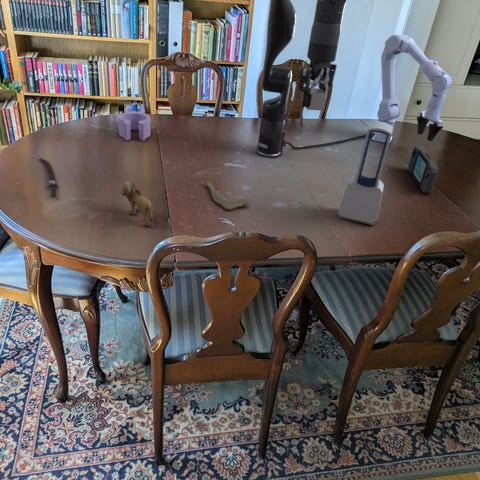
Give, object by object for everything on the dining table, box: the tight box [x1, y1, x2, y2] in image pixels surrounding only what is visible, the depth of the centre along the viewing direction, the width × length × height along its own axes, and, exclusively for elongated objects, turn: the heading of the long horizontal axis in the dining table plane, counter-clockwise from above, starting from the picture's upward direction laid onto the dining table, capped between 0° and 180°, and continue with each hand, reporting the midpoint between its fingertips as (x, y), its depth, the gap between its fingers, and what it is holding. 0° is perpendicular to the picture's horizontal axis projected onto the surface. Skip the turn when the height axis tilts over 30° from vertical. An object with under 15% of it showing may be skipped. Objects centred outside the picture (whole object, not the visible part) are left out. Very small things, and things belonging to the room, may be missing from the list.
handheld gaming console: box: [407, 145, 439, 195], centre depth 173 cm, size 23×3×10 cm, turn 178°
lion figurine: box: [119, 181, 159, 227], centre depth 134 cm, size 15×5×9 cm, turn 50°
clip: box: [117, 106, 151, 142], centre depth 190 cm, size 20×12×7 cm, turn 11°
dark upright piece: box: [284, 59, 308, 132], centre depth 206 cm, size 9×8×30 cm
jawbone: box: [205, 181, 254, 211], centre depth 149 cm, size 9×20×2 cm, turn 50°
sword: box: [40, 158, 59, 198], centre depth 151 cm, size 31×3×1 cm, turn 26°
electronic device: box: [337, 121, 394, 226], centre depth 139 cm, size 12×8×30 cm, turn 71°
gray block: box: [305, 87, 326, 111], centre depth 129 cm, size 4×5×5 cm
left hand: (312, 104), depth 130 cm, fingers closed on gray block, 6 cm apart
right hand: (424, 137), depth 197 cm, fingers open, 7 cm apart
